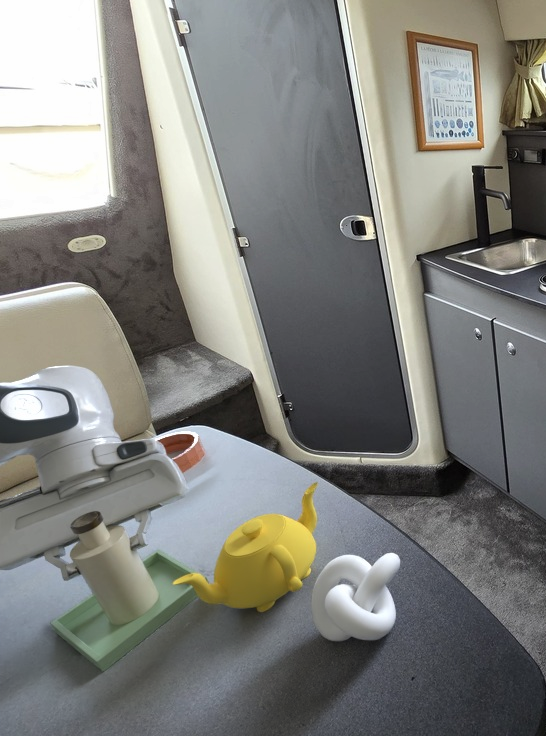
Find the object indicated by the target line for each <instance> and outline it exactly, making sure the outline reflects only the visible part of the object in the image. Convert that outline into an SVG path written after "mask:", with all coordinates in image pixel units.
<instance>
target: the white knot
mask: <svg viewBox="0 0 546 736" xmlns="http://www.w3.org/2000/svg"><path fill="white" fill-rule="evenodd" d="M400 567H401V559H400V557H399V555H398V554H396V553H394V552H388V553H385V554H383V555H382V556H381V557H379V558H378V559H377V560H375V562H374V564H372V565H371V564H370V563H369V562H368V561H367V560H366V559H364V558H363V557H361V556H359V555H355V554H343V555H340V556H336V557H335V558H333V559H332V560H330V561H329V562H328V563H327V564H326V565H324V567H323V568H322V570H321V572H320V573H319V574H318V576H317V577H316V581H315V583H314V586H313V589H312V592H311V599H310V609H311V615H312V620H313V623H314V626H315V628H316V629H317V631H318V633H319V634H320V635H321V636H322V637H323V638H324V639H326V640H328V641H331V642H344V641H346V640H349V639H350V638H351V637H353V638H355V639H357V640H363V641H377V640H380V639H382V638H383V637H385V636H386V635H388V634H389V633H390V632H391V630H392V629H393V627H394V625H395V622H396V619H397V617H396V616H397V614H396V613H397V611H396V605H395V601H394V598H393V596H392V594H391V592H390V590H389V587H388V585H389V584H390V583H391V581H392V580H393V579H394V578H395V576H396V574H398V573H397V572H398V571H399V570H400ZM342 580H347V581H348V582H350V583H351V584H348V583H342V584H340V582H341V581H342Z"/></svg>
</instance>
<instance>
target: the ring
mask: <svg viewBox="0 0 546 736" xmlns="http://www.w3.org/2000/svg"><path fill="white" fill-rule="evenodd" d="M154 440H157V441H158V442H160V443H161V444H162V445H163V446H164V447H165V450H166V455H169V454H171V453H175V452H179V451H183V452H182V453H180V454H178V455H177V456H175V457H173V458H171V459H172V460H173V461H174V462H175V463H176V464H177V465H178V467H179V468H180V470H181V472H182V473H185V472H187V471H188V470H190V469H192V468H193V467H194V466H195V465H196V464H198V463H199V462H200V461H201V460H202V458H203V457H204V455H205V447H204V444H203V443H202V440H201V438H200V435H199V434H197V432H194V431H178V432H173V433H170V434H169V433H168V434H166V435H163V436H160V437H158V438H155V439H154Z"/></svg>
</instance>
